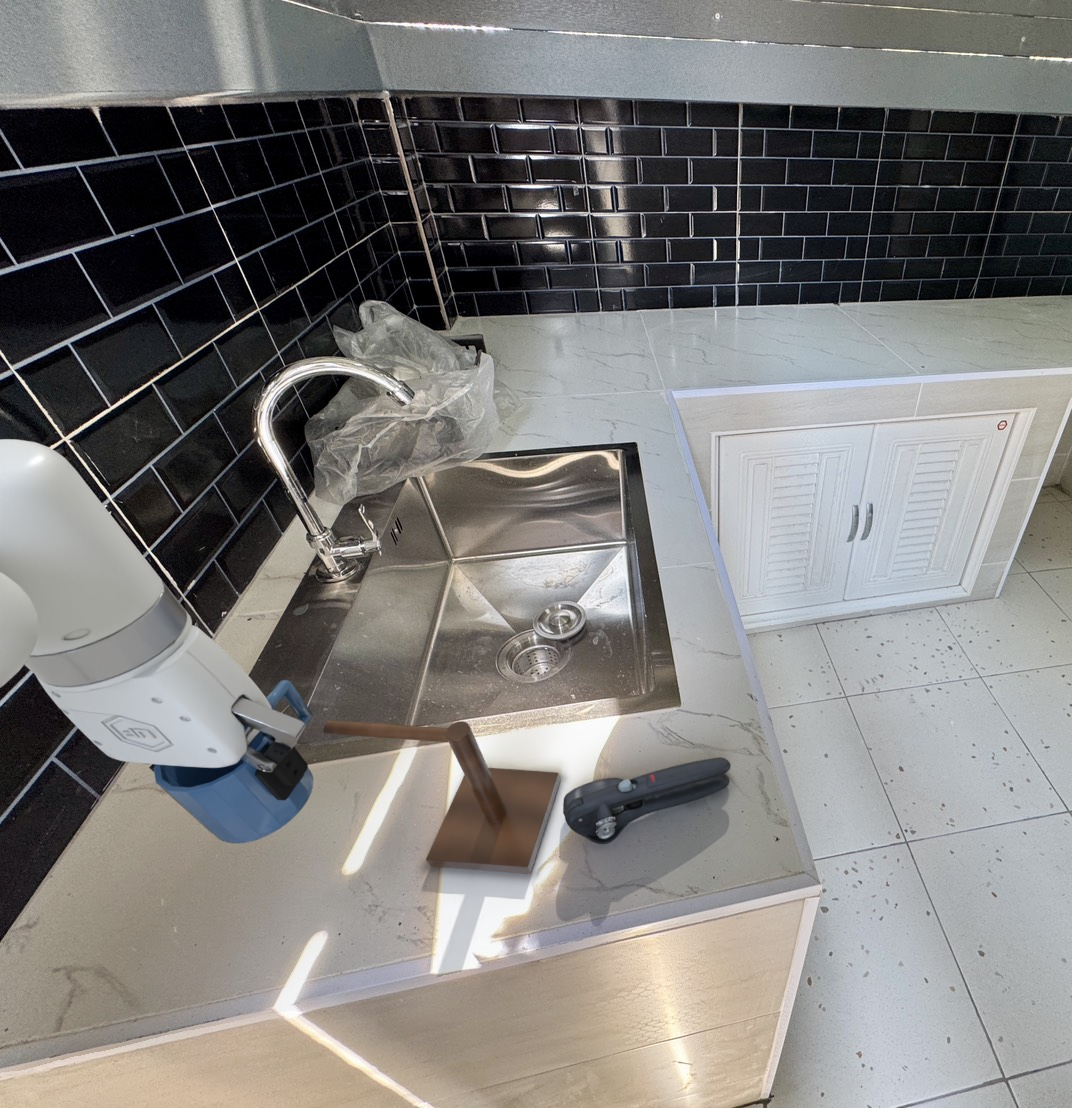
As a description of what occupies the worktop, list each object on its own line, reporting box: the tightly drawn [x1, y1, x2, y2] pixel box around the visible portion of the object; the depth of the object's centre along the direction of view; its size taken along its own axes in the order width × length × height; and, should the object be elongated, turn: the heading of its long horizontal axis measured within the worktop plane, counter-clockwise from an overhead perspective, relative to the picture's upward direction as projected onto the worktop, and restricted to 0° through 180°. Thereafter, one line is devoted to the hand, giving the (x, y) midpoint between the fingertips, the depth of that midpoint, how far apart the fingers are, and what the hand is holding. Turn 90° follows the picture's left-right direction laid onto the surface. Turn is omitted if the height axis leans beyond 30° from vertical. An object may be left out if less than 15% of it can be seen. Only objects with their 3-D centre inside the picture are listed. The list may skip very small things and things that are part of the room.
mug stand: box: [322, 719, 561, 875], centre depth 58 cm, size 10×17×16 cm, turn 86°
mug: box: [153, 679, 314, 845], centre depth 50 cm, size 11×7×8 cm, turn 177°
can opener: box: [562, 756, 732, 845], centre depth 62 cm, size 18×7×6 cm, turn 109°
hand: (244, 779), depth 49 cm, fingers closed on mug, 7 cm apart
